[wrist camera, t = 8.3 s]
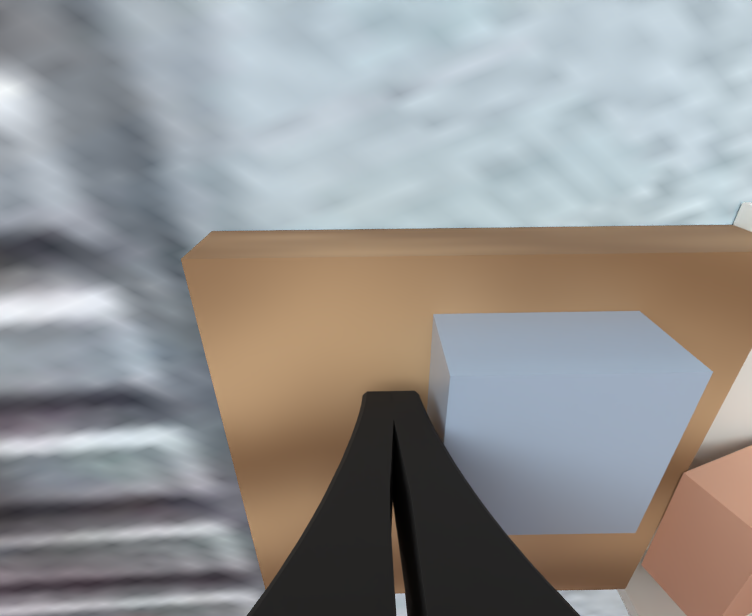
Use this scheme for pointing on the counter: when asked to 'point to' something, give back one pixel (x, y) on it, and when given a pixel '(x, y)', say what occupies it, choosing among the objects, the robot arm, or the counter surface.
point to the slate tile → (561, 414)
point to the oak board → (413, 347)
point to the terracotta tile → (708, 539)
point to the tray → (726, 435)
